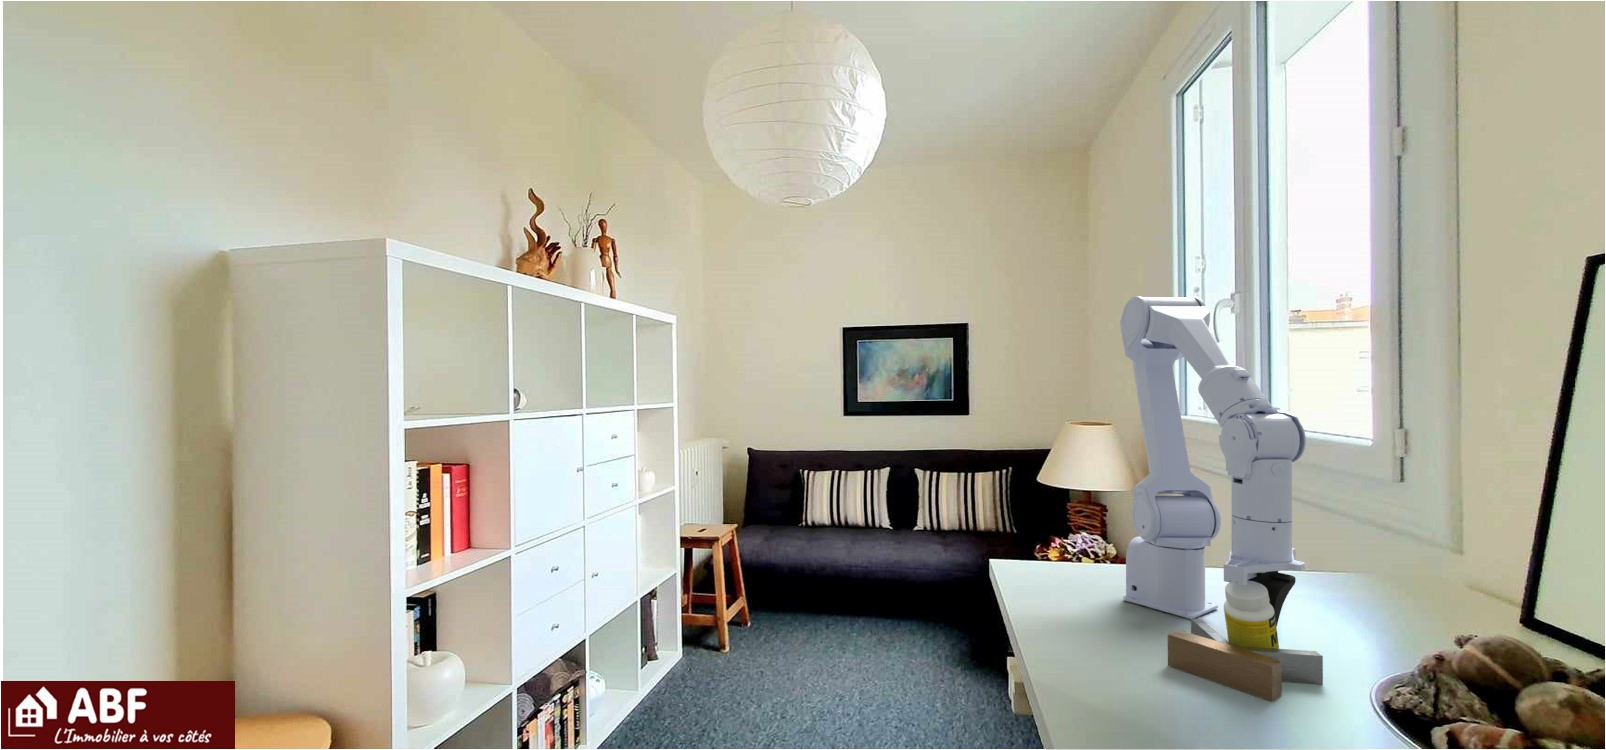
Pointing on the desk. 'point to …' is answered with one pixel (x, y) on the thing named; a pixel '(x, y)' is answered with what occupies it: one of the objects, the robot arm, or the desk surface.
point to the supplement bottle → (1250, 616)
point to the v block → (1241, 662)
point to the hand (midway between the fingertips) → (1261, 636)
